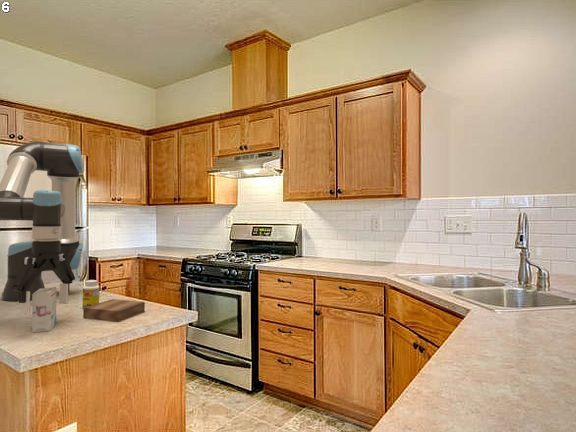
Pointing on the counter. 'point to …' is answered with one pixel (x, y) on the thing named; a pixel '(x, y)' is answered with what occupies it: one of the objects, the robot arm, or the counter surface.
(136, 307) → the walnut slab
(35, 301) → the ink box
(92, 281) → the supplement bottle
